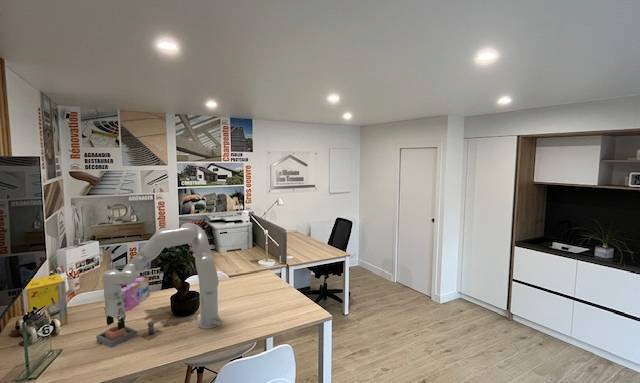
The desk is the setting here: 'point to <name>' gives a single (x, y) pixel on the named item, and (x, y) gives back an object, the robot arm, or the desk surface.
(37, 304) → the packaging box
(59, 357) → the desk surface
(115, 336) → the ring
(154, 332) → the board
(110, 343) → the tray
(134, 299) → the gum box
